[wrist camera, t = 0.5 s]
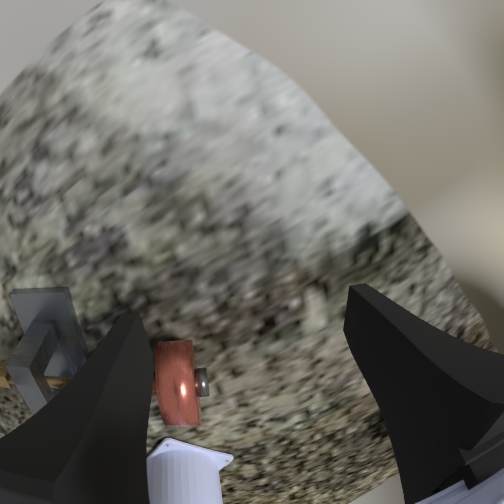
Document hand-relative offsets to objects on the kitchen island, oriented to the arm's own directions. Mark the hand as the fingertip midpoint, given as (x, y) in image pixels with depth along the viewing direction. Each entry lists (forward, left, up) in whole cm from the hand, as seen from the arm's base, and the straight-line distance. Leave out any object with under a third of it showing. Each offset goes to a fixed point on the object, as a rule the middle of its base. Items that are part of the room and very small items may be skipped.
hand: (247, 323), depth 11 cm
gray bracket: (-16, +6, -10) cm, 20 cm away
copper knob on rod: (-14, +3, -10) cm, 18 cm away
